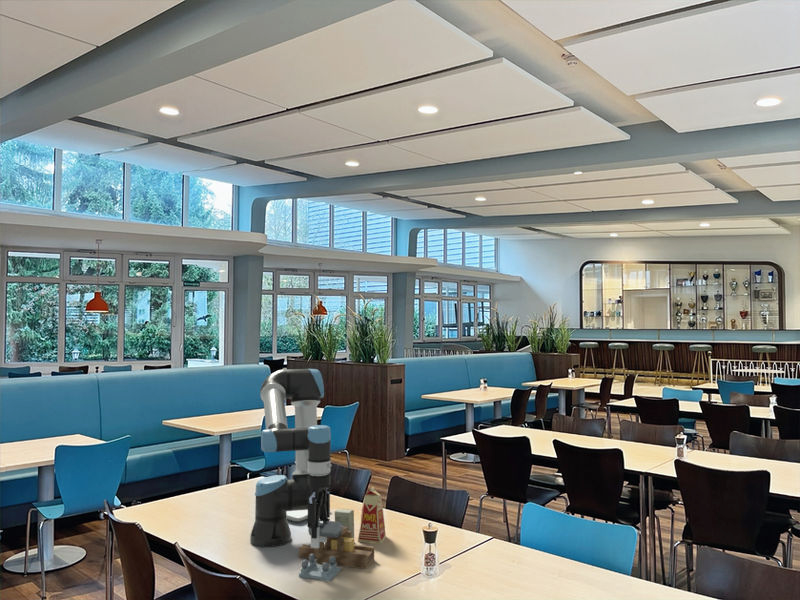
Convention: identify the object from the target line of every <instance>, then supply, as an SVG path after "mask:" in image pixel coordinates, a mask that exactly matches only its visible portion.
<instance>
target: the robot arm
mask: <svg viewBox="0 0 800 600" xmlns="http://www.w3.org/2000/svg"><path fill="white" fill-rule="evenodd" d="M259 391H260V393H259V395H260V399H261V401H262V402H263V409H264V411H263V412H264V420H265V422H264V423H265V429H262V431H261V432H260V433H261V435H260V437H261V438H260V443H261V444H260V445H261V446H260V447H261V451H262V452H264V453H279V452H291V451H292V452H295V470H294V471H293V472H292V474H291V478H290V479H288V477H287V476H286V475H285V474H280V475H279V474H276V475H274V474H273V475H270V476H266V477H263V478H261V479H259V480H258V481H256V484H255V493H254V496H255V511H254V513H255V517H254V523H253V525H252V529H251V532H250V537H249V538H250V543H251V544H252V545H254V546H256V547H262V548H263V547H266V548H267V547H270V548H271V547H278V546H283V545H285V544H287V543H289V542H290V541H291V540H292V533H291V528H290V526H289V521H288V520H287V517H286V515H287V511H297V510H308V519H307V528H308V529H309V528H311V535H310V545H311V548H319V542H324V543H326V542H327V537H321V536H320V527H318V524H319V520H324V521H331V519H330V517H331V502H330V501H331V487H330V485H331V479H332V478H331V476H332V475H331V467H332V463H331V445H332V444H331V440H332V435H331V434H332V433H331V428H330V426H328V425H324V424H323V425H322V424H318V413H317V411H318V410H317V407H318V405H319V404H320V403H321V399H323V398H324V396H325V387H324V380H323V375H322V373H321V371H320V370H319V369H316V368H294V369H293V368H290V369H289V368H288V369H285V368H283V369H278V370H276V371H274V372H272V373H270V374H269V375H268V376H267V377H266V378H264V381H263V382H262V384H261V386H260V390H259ZM287 399H290V404H291V405H292V406H293V407H294V425H295V426H294V428H289V427H288V426H289V425H288V418H287V412H286V405H285V400H287Z"/></svg>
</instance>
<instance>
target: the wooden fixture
mask: <svg viewBox="0 0 800 600" xmlns="http://www.w3.org/2000/svg"><path fill="white" fill-rule="evenodd" d="M342 537H349V538H352V531H348V527H343V531H342V535H341V537H340V538H337V550H331V539H333V538H331V537H327V542H326V543H325V542H319V548H311V544H302V545H300V546H298V549H299V551H298V552H299V553H298V556H299V558H303V559H309V556H310V554H315V556H316V558H315V560H316V564H318V563H319V564H323V563H324V562H326V563H329V558H330V556H335V557H336V562H337V566H340V567H341V566H342V567H350V568H358V569H366V570H367V568H368V567H369V566H370V565H371V564H372V563H373V562H374V561H375V546H371V545H363V544H355V543H354V550H353V551H352V552H348V551H344V538H342ZM324 543H325V545H324ZM329 565H330V563H329Z"/></svg>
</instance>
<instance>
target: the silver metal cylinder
mask: <svg viewBox="0 0 800 600" xmlns="http://www.w3.org/2000/svg"><path fill="white" fill-rule="evenodd" d="M318 527H320V536H321V537H331V538H340V537H341V535H342V531H343V525H342V523H341V522H335V520H334V521H333V520H330V521H324V520H320V519H319V524H318ZM308 535H310V536H311V528H308Z"/></svg>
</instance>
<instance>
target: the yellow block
mask: <svg viewBox="0 0 800 600" xmlns="http://www.w3.org/2000/svg"><path fill="white" fill-rule="evenodd" d="M342 538H344V551H348V552H352V551H353V550H354V544H355V537H354V538H349V537H342ZM331 550H337V538H333V539H331Z"/></svg>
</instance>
